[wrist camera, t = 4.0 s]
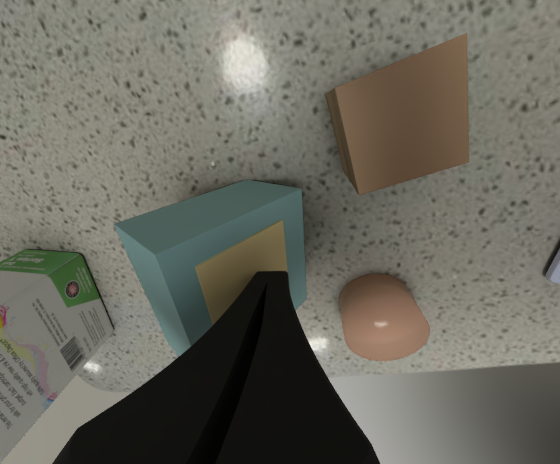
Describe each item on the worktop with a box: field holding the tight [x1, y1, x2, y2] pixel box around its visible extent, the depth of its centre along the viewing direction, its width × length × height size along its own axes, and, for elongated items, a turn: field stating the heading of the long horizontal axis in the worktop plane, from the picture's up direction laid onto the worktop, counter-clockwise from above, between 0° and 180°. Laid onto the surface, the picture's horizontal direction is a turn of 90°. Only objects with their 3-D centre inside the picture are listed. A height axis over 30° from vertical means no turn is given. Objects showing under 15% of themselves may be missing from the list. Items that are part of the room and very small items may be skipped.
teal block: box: [114, 180, 307, 356], centre depth 12 cm, size 4×7×7 cm
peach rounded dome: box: [338, 274, 430, 361], centre depth 16 cm, size 5×5×3 cm
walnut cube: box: [326, 33, 469, 195], centre depth 10 cm, size 4×4×4 cm
